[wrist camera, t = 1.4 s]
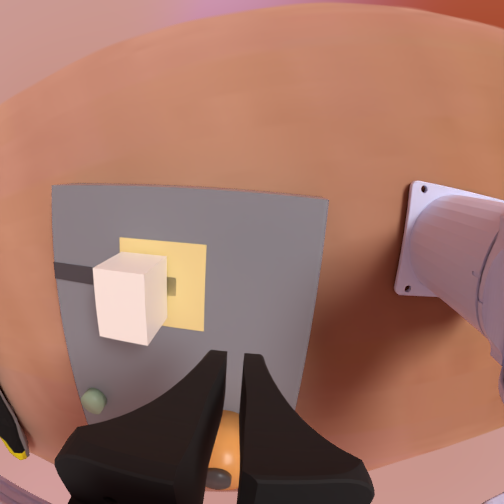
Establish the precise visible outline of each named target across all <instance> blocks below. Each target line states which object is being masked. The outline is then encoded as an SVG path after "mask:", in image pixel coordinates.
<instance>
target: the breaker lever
mask: <svg viewBox="0 0 504 504" xmlns="http://www.w3.org/2000/svg"><path fill="white" fill-rule="evenodd" d="M93 279H94V291H95V301H96V311H97V319H98V327H99V334H100V336H102V337H106V338H111V339H116V340H120V341H125V342H130V343H136V344H141V345H146V346H148V345H149V343H150V342H151V341H152V339H153V338H154V336H155V335H156V333H157V332H158V330H159V329H160V328H161V326H162V325H163V323H164V322H165V320H166V319H167V256H160V255H150V254H140V253H130V252H120V253H118V254H117V255H115V256H113V257H111V258H109V259H108V260H106V261H104V262H102V263H101V264H99V265H97V266H95V267H94V268H93Z"/></svg>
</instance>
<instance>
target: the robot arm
mask: <svg viewBox="0 0 504 504" xmlns="http://www.w3.org/2000/svg"><path fill="white" fill-rule="evenodd" d="M422 186H424V187H425V191H424V192H422V191H421V188H422ZM408 285H409V288H408V290H406V291H405V287H406V286H408ZM394 290H395V292H396V293H397V294H398V295H409V296H428V297H439V298H440V299H442V300H443V301H444V302H445V303H446V304H448V305H449V306H450V307H451V308H452V309H454V310H455V311H456V312H457V313H458V314H460V315H461V316H462V317H463V318H464V319H466V320H467V321H468V322H469V323H470V324H471V325H473V326H474V327H475V328H476V329H477V330H478V331H480V332H481V333H482V334H483V335H484V336H485V337H486V338H487V339H488V340H489V342H490V345H491V353H490V355H491V356H492V357H493V358H494V359H495V360H496V361H497V362H498V363H499V364H500V365H501V366H503V367H502V368H501V373H500V377H499V393H500V397H501V399H502V402H503V404H504V201H503V200H499V199H495V198H492V197H488V196H484V195H480V194H476V193H472V192H468V191H464V190H459V189H455V188H451V187H446V186H442V185H437V184H432V183H427V182H423V181H413V182H412V183H411V184H410V190H409V199H408V207H407V215H406V222H405V229H404V236H403V242H402V248H401V254H400V259H399V265H398V270H397V275H396V280H395V285H394ZM226 370H227V351H219V350H210V351H209V352H208V353H207V354H206V355H205V356H204V357H203V359H202V360H201V361H200V362H199V363H198V364H197V365H196V366H195V367H194V368H193V369H192V370H191V371H190V372H189V373H188V374H187V375H186V376H185V377H184V378H183V379H182V380H180V381H179V382H178V383H177V384H176V385H174V386H173V387H172V388H171V389H169V390H168V391H167V392H165V393H164V394H162V395H161V396H159V397H158V398H156V399H155V400H153V401H151V402H150V403H148V404H146V405H144V406H142V407H140V408H138V409H136V410H134V411H132V412H129V413H127V414H124V415H122V416H119V417H116V418H113V419H110V420H107V421H103V422H99V423H95V424H90V425H86V426H81V427H77V429H76V430H75V431H74V432H73V433H72V434H71V436H70V437H69V438H68V440H67V441H66V443H65V444H64V446H63V447H62V449H61V451H60V452H59V454H58V455H57V457H56V458H55V467H56V470H57V472H58V474H59V476H60V478H61V480H62V481H63V483H64V485H65V486H66V488H67V490H68V491H69V492H70V494H71V498H70V500H69V502H68V504H203V499H204V492H205V485H206V479H207V472H208V467H209V462H210V458H211V454H212V451H213V447H214V444H215V440H216V436H217V433H218V429H219V426H220V422H221V418H222V414H223V407H224V400H225V391H226ZM239 446H240V474H239V485H238V498H237V504H370V503H371V502H372V500H373V497H374V487H373V484H372V481H371V478H370V476H369V474H368V472H367V470H366V468H365V466H364V464H363V462H362V460H360V459H358V458H357V457H355V456H353V455H351V454H349V453H347V452H345V451H343V450H342V449H340V448H338V447H336V446H335V445H333V444H332V443H330V442H329V441H328V440H326V439H325V438H323V437H322V436H321V435H319V434H318V433H317V432H316V431H315V430H314V429H312V428H311V427H310V426H309V425H308V424H307V423H306V422H305V421H304V420H303V419H302V418H301V417H300V416H299V415H298V414H297V413H296V412H295V411H294V409H293V408H292V407H291V406H290V404H289V403H288V402H287V400H286V399H285V398H284V396H283V395H282V393H281V392H280V390H279V389H278V387H277V385H276V384H275V382H274V380H273V378H272V376H271V374H270V372H269V370H268V368H267V366H266V363H265V360H264V357H263V356H262V355H261V354H251V353H244V361H243V372H242V385H241V397H240V409H239ZM0 504H51V503H49V502H47V501H45V500H43V499H41V498H39V497H37V496H35V495H33V494H31V493H30V492H28V491H26V490H24V489H22V488H21V487H19V486H17V485H15V484H14V483H12V482H10V481H9V480H7V479H5V478H4V477H2V476H1V475H0ZM482 504H504V492H503V493H502V494H499V495H497V496H495V497H493V498H491V499H489V500H487V501H485V502H484V503H482Z"/></svg>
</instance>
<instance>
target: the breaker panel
mask: <svg viewBox="0 0 504 504" xmlns="http://www.w3.org/2000/svg"><path fill="white" fill-rule="evenodd" d="M328 204H329V200H328V199H325V198H323V197H317V196H308V195H298V194H288V193H277V192H266V191H254V190H242V189H228V188H213V187H196V186H176V185H150V184H104V183H71V184H61V185H52V230H53V248H54V261H55V262H54V270H55V278H56V281H57V290H58V297H59V304H60V311H61V317H62V323H63V329H64V334H65V339H66V344H67V349H68V354H69V358H70V363H71V367H72V371H73V375H74V379H75V383H76V386H77V390H78V394H79V397H80V401H81V404H82V407H83V411H84V414H85V417H86V420H87V423H88V425H90V424H95V423H99V422H103V421H107V420H110V419H113V418H116V417H119V416H122V415H124V414H127V413H129V412H132V411H134V410H136V409H138V408H140V407H142V406H144V405H146V404H148V403H150V402H151V401H153V400H155V399H156V398H158V397H159V396H161V395H162V394H164V393H165V392H167V391H168V390H169V389H171V388H172V387H173V386H174V385H176V384H177V383H178V382H179V381H180V380H182V379H183V378H184V377H185V376H186V375H187V374H188V373H189V372H190V371H191V370H192V369H193V368H194V367H195V366H196V365H197V364H198V363H199V362H200V361H201V360H202V359H203V357H204V356H205V355H206V354H207V353H208V352H209V351H210V350H219V351H227V370H226V391H225V400H224V407H223V410H228V411H233V412H236V413H238V414H239V409H240V397H241V385H242V372H243V361H244V353H251V354H261V355H262V356H263V357H264V360H265V363H266V366H267V368H268V370H269V372H270V374H271V376H272V378H273V380H274V382H275V384H276V385H277V387H278V389H279V390H280V392H281V393H282V395H283V396H284V398H285V399H286V400H287V402H288V403H289V404H290V406H291V407H292V408H293V409H294V411H295V408H296V403H297V399H298V394H299V389H300V384H301V380H302V375H303V370H304V364H305V359H306V354H307V349H308V343H309V338H310V332H311V326H312V320H313V314H314V308H315V302H316V296H317V289H318V283H319V276H320V269H321V262H322V254H323V247H324V239H325V231H326V222H327V213H328ZM120 252H130V253H140V254H150V255H160V256H167V319H166V320H165V322H164V323H163V325H162V326H161V328H160V329H159V330H158V332H157V333H156V335H155V336H154V338H153V339H152V341H151V342H150V343H149V345H148V346H146V345H141V344H136V343H130V342H125V341H120V340H116V339H111V338H106V337H102V336H100V334H99V327H98V319H97V311H96V301H95V291H94V279H93V268H94V267H95V266H97V265H99V264H101V263H102V262H104V261H106V260H108V259H109V258H111V257H113V256H115V255H117V254H118V253H120Z"/></svg>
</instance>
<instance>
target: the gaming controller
mask: <svg viewBox="0 0 504 504" xmlns="http://www.w3.org/2000/svg"><path fill="white" fill-rule="evenodd" d="M14 414H15V413H14V409H13V407H12V406H11V405H10V404H9V402H7V401H6V399H5V397H4V396H3V394H2V392H1V390H0V438H1V439H2V441H3V442H4V444H5V446H6V447H7V448H8V450H9V452H10V453H11V454H12V455H13V456H15V457H16V458H18V459H19V460H23V459H26V458H27V457H28V456H29V447H28V441H27V438H26V436H25V434H24V431H23V430H22V428H21V426H20V425H19V423H18V421H17V418H16V416H15V415H14Z"/></svg>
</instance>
